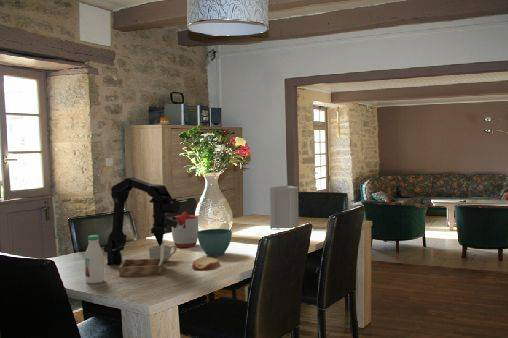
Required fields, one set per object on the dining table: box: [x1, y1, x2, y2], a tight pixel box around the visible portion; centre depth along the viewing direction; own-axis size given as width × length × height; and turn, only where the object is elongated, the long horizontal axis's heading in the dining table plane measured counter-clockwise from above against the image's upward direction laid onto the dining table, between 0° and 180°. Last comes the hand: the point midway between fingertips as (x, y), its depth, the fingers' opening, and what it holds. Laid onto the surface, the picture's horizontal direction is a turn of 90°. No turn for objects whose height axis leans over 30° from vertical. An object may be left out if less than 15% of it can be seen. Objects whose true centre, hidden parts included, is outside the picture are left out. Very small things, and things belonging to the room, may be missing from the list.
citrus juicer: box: [170, 211, 199, 249], centre depth 308 cm, size 16×17×20 cm
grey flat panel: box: [160, 239, 165, 265], centre depth 251 cm, size 9×15×1 cm
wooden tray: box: [118, 258, 164, 277], centre depth 251 cm, size 18×16×4 cm
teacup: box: [148, 244, 177, 263], centre depth 270 cm, size 14×11×8 cm
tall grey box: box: [268, 185, 300, 230], centre depth 366 cm, size 19×15×28 cm
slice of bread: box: [191, 256, 220, 272], centre depth 260 cm, size 18×18×4 cm
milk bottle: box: [84, 234, 105, 284], centre depth 233 cm, size 8×8×20 cm
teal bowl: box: [197, 228, 233, 257], centre depth 284 cm, size 18×18×12 cm
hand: (160, 245), depth 251 cm, fingers closed, pressing on grey flat panel
